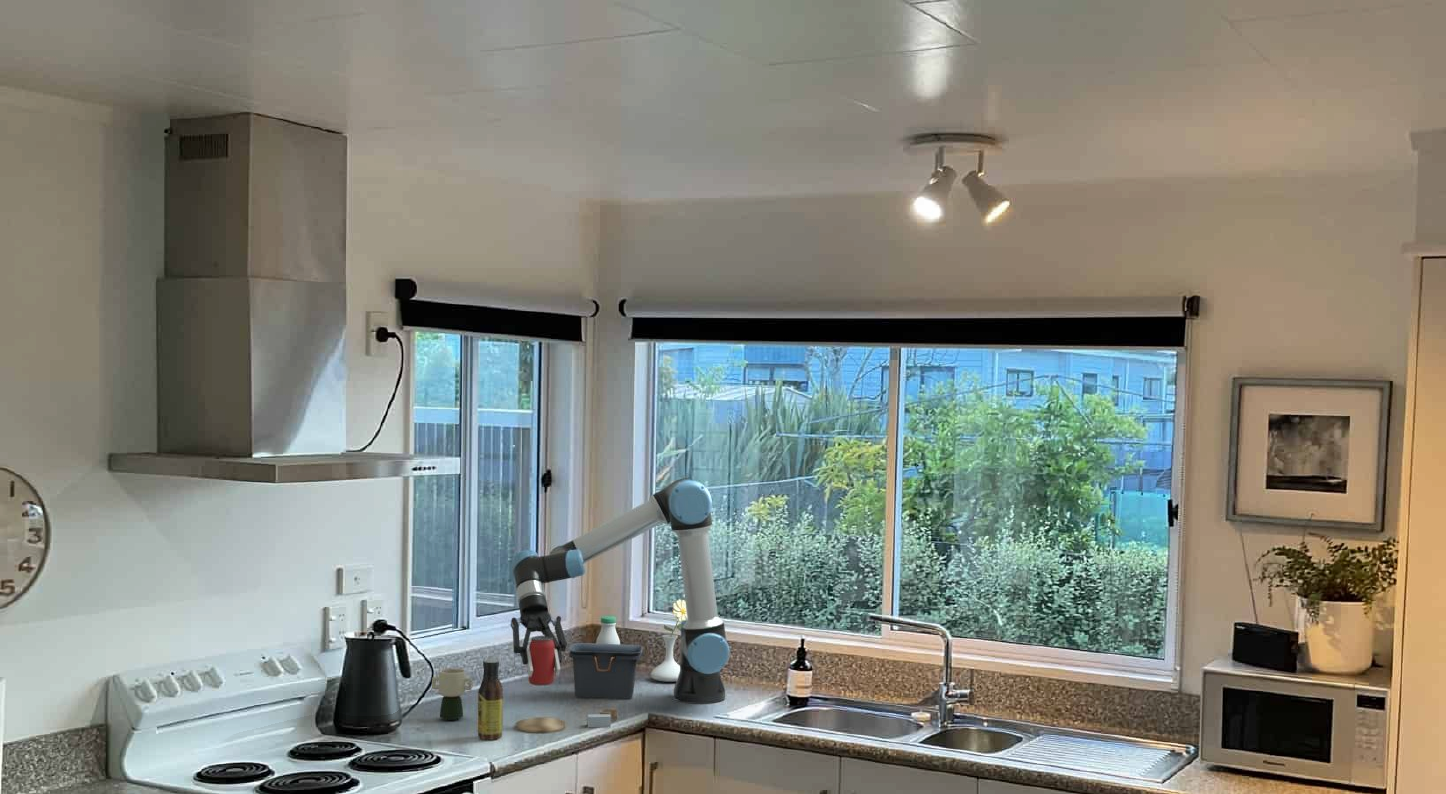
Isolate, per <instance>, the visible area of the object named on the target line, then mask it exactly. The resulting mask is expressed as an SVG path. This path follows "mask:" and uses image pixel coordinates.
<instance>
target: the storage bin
mask: <svg viewBox="0 0 1446 794" xmlns="http://www.w3.org/2000/svg"><path fill="white" fill-rule="evenodd" d="M643 649H644V647H643V646H642V645H637V644H621V643H620V644H597V643H596V642H595V643H594V642H593V643H592V642H575V643H571V644H570V645H569V647H568V649H567V650H568V651H569V655H568V656H569V658H572V665H573V667H572V668H573V669H572V670H573V684H574V696H575V697H576V698H578V699H583V698H584V699H611V700H612V699H613V700H631V699H633V694H634V690H635V689H634V688H635V681H636V674H637V667H638V660H640V659H641V657H642V654H643V653H642V652H643Z"/></svg>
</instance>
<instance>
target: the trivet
mask: <svg viewBox="0 0 1446 794" xmlns="http://www.w3.org/2000/svg"><path fill="white" fill-rule="evenodd" d="M566 724H567V723H566V721H564V720H563V719H559V718H554V717H529V718H525V719H521V720H520V719H519V720H518V721H516V722H515V728H516V730H518V731H519V732H523V733H529V734H530V733H531V734H548V733H557V732H560V731H563V730H565V729H566V727H567V726H566Z"/></svg>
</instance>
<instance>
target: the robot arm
mask: <svg viewBox="0 0 1446 794" xmlns="http://www.w3.org/2000/svg"><path fill="white" fill-rule="evenodd" d="M712 502H713V501H712V496H711V494H710V491H709V489H707V487H706V486H705V485H704V484H702V483H701V482H699V481H697V480H694V479H692V478H685V477H684V478H679V479H677V480H674V481H673V482H671V483H669V485H667V486H665V487H663V488H662V489H661V490H659V491H656V492H655V493H653V494H651V496H650V498H649V500H648V501H645V502H644V503H641V504H640V505H638V506H636V507H633V508H632V509H630V510H628V511H626V512H624V513H622V514H619V515H618V516H617V517H614V518H612V519H610V520H609V521H607V522H605V523H603V524H601V525H599V526H597V527H595V528H593V529H591V530H590V531H588V532H586V533H584V534H582V535H579V536H577V537H576V538H574V539H572V540H571V541H568V542H566V543H564V544H562V545H558V546H555V547H554V548H552V550H551V551H550V552H549V554H547V555H541V556H539V554H538V553H537V552H536V550H532V549H531V550H528V549H524V550H521V551H519V552H517V553H516V554H515V555H514V556H513V558H512V570H513V571H512V572H513V579H514V583H515V589H516V594H517V602H518V608H519V613H520V617H519V618H518V617H517V618H516V617H512V618H511V620H510V624H509V625H510V627H511V629H512V643H513V645H512V647H513V653H514V654H520V655H519V656H520V658H521V661H522V664H523V665H524V666H525V665H526V669H527V675H528V678H529V677H531V676H532V673H533V666H532V660H531V654H530V650H529V649H527V648H528V645H529V641H530V637H531V633H535V632H541V634H542V636H548V637H552V638H553V639H552V640H553V642H554V646H555V652H554V674H555V676H559V675H560V673H561V665H560V663H562V659H563V655H562V652H565V651H566V648H567V645H568V644H567V640H566V638H565V635H564V634H565V633H564V631H563V626H562V624H561V621H562V616H560V615H557V616H556V617H554V616H552V615H551V614H550V613H549V607H548V602H547V599H546V598H547V595H546V591H545V590H546V589H545V585H544V584H549V583H552V582H557V581H563V580H568V579H575V578H577V577H582V576H584V575H585V574H586V569H585V564H586V563H588V562H589V561H591V560H594V559H595V558H598V557H599V556H601V555H603V554H604V553H607V552H609V551H611V550H613V549H615V548H616V547H619V546H620V545H622V544H624V543H626V542H628V541H630V540H632V539H635V538H637V537H638V536H640V535H642V534H644V533H646V532H648V531H650V530H651V529H653V528H656V527H657V526H659V525H661V524H663V525H668V524H670V529H671V532H672V533H674V534H675V535H676V536H677V543H678V550H679V551H678V552H679V559H680V560H679V561H680V567H681V568H680V569H681V575H682V583H683V592H684V601H685V602H686V610H687V618H688V619H686V620H683V621H682V623H681V622H680V623H681V628H680V630H679V631H680V657H679V666H680V673H679V676H678V679H677V681H675V682H676V683H675V685H674V688H673V696H672V697H673V699H674V700H676V701H679V702H683V703H692V704H712V703H713V704H714V703H719V702H722V701H725V699H726V688H725V685H724V682H723V678H722V674H721V671H722V669H723V668H724V667H725V666H726V665H727V663H728V661H729V659H730V651H731V649H730V646H729V643H728V642H727V637H726V628H725V621H724V620H723V619H722V618H721V617H720V616H719V614H718V607H717V599H716V591H715V583H714V581H715V580H714V572H713V564H712V554H711V549H710V548H711V547H710V541H709V540H710V539H709V531H710V529H711V528H712V527H713V520H712V511H711V510H712V505H713V503H712ZM550 623H551V624H552V626H553V627H554V632H555V634H556V636H555V634H554V633H553V630H551V628H550V625H549V624H550ZM520 625H522V626H523V627H524V628H526V630H525V635H524V639H523V643H522V646H520Z"/></svg>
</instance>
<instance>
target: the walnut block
mask: <svg viewBox="0 0 1446 794" xmlns="http://www.w3.org/2000/svg"><path fill="white" fill-rule="evenodd" d="M618 709H619V708H613V707H607V708H605V709H603V710H601V711H600V712H598V713H599V714H610V715H611V724H612V723H614V722H615V721H617V720H618V719H619V714H618V713H619V712H618V711H619V710H618Z"/></svg>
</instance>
